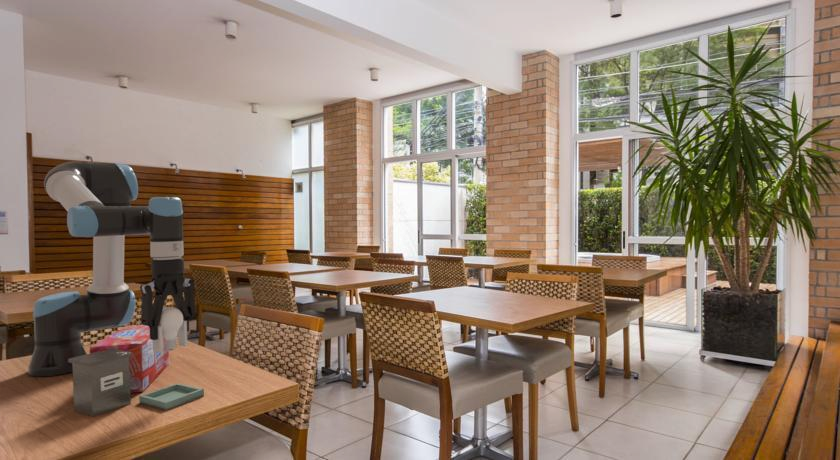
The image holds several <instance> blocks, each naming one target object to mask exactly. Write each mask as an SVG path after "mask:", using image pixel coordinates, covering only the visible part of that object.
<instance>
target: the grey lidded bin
mask: <svg viewBox="0 0 840 460" xmlns="http://www.w3.org/2000/svg"><path fill="white" fill-rule="evenodd" d="M130 356H133V353H132V352H127V351H122V350H116V349H107V350H103V351H99V352H95V353H90V352H89V353H86V355H82V356H78V357H74V358H70V359H68V362H70V363H72V365H73V372H72V385H73V387H72V388H73V409H74V410H73V411H74V412H77V413H79V414H80V413H81V414H84V415H86V416H90V417H96V416H98V415H101V414H104V413H108V412H110V411H113V410H116V409H120V408H123V407H124V406H128V405H131V393H130V369H129V357H130Z"/></svg>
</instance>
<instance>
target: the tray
mask: <svg viewBox="0 0 840 460" xmlns="http://www.w3.org/2000/svg"><path fill="white" fill-rule="evenodd" d="M204 396H205V390H204V388H201V387H196V386H193V385H188V384H183V383H179V382H178V383H177V382H176V383H174V384H171V385H167V386H165V387H162V388H159V389H156V390H152V391H150V392H148V393H144V394H141V395H139V398H138V399H139V404H142V405H145V406H149V407H152V408H157V409H161V410H164V411H168V410H171V409H173V408H177V407H179V406H181V405H184V404H187V403H190V402H192V401H194V400H196V399H197V400H198V399H200V398H202V397H204Z"/></svg>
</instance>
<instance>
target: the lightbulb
mask: <svg viewBox="0 0 840 460" xmlns="http://www.w3.org/2000/svg"><path fill="white" fill-rule="evenodd" d="M183 320H184V318H183V314H182V312H181V311H180V310H179V309H177V308H176V306H175V307H173V306H167V307H163V310H162V314H161V318H160V322H159V325H158V326H162V334H163V338H164V339H165V349H167V350H169V351H173V350H175V349H176V348H177V346H178V343H177V338H178V331H179V329H180V327H181V326H182V324H183Z"/></svg>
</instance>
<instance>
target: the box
mask: <svg viewBox="0 0 840 460" xmlns="http://www.w3.org/2000/svg"><path fill="white" fill-rule="evenodd" d="M162 341H163V352H162V353H157V352H153V340H151V339H150V328H149V326H146V325H142V324H138V325H127V326H126V325H124V326H123V327H122V328H120V329H118V330H116V331H115V332H113V333H111V334H110V335H108V336H106V337H105V338H103V339H101V340H100V341H97V342H96V343H95V344H92V345H91V346H90V347H89V354H90V353H95V352H99V351H103V350H107V349H116V350H122V351H127V352H132V353H133V356H130V357H129V369H130V394H133V393H143V392H144V391H145V390H146V389H148V387H149V386H150V385H151V384H152V383H153V382H154V381H155V380H156V379H157V377H158V376H160V375H161V373H162V372H163V371H164V370H165V369H166V368H167V367H168V366H169V364H170V356H169V354H170V353H169V352H170V350H167V349H165V339H164V338H163V334H162Z"/></svg>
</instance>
